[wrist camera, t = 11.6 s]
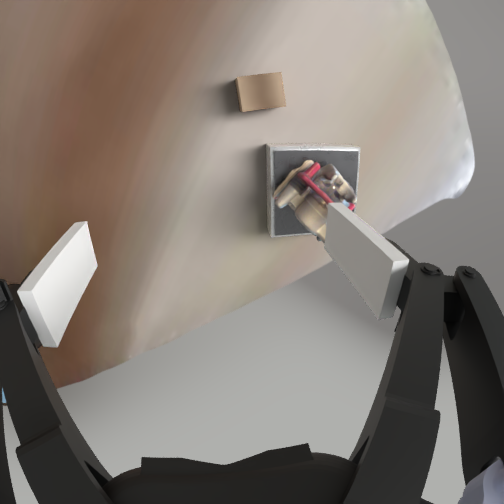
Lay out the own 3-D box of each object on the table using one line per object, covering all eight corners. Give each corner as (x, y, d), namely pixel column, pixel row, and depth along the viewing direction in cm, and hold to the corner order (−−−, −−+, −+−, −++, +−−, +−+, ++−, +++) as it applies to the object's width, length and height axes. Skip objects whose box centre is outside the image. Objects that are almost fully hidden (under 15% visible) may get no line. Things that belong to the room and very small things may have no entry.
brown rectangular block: (239, 111, 41) (242, 111, 37) (234, 79, 38) (237, 77, 35) (279, 106, 41) (286, 106, 37) (275, 74, 38) (281, 72, 35)
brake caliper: (376, 191, 42) (372, 254, 36) (322, 215, 50) (308, 273, 44) (330, 136, 37) (317, 193, 31) (276, 170, 46) (252, 226, 39)
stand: (267, 228, 50) (271, 238, 46) (265, 143, 43) (270, 147, 40) (345, 223, 51) (354, 232, 48) (350, 144, 45) (361, 148, 41)
